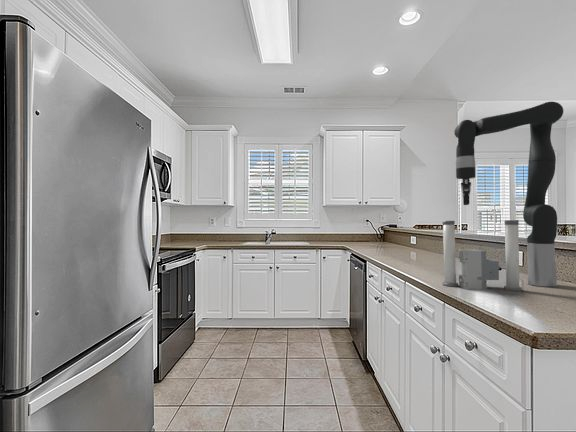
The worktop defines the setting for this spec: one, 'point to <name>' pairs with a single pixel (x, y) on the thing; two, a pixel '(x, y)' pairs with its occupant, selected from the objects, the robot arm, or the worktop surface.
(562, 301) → the worktop surface
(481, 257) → the circuit breaker
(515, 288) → the post
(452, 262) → the post
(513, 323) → the worktop surface
